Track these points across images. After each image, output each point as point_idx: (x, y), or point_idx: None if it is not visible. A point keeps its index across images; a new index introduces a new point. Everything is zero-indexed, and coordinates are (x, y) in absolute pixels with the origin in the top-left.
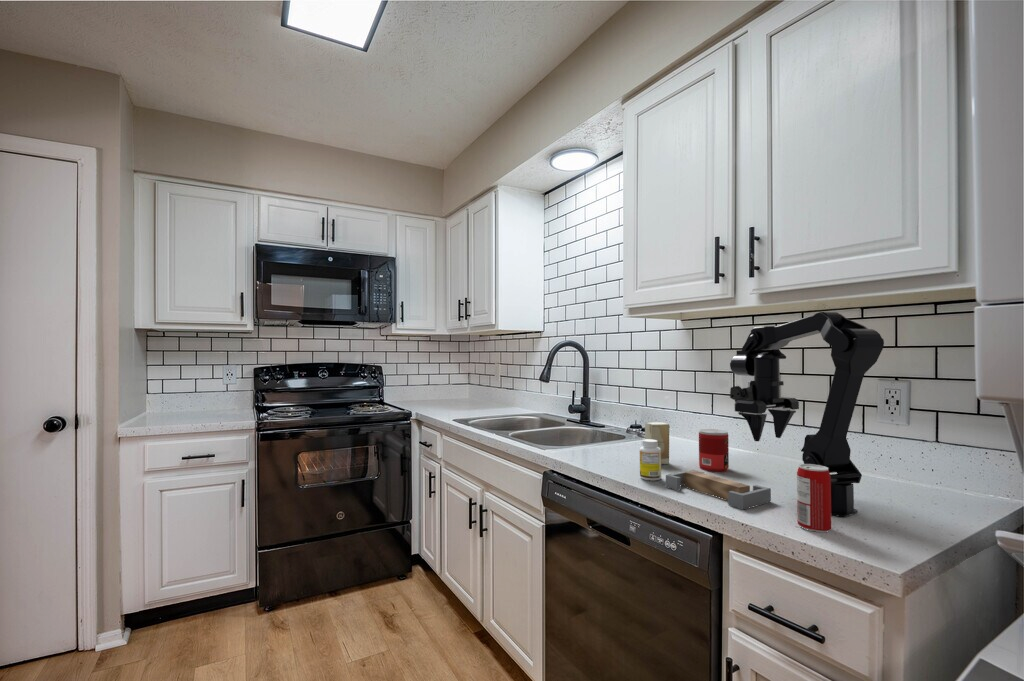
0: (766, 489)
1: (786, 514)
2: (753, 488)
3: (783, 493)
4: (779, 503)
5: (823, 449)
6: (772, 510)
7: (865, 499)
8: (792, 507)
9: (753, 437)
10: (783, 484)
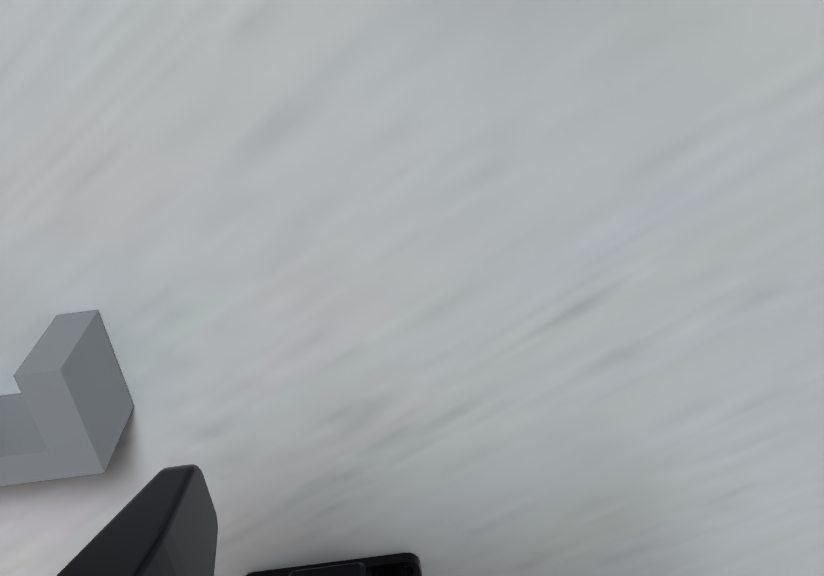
0: (45, 480)
1: (34, 573)
2: (25, 364)
3: (414, 304)
4: (166, 443)
5: None
6: (3, 511)
7: (742, 554)
8: None
9: (123, 513)
10: (691, 120)
